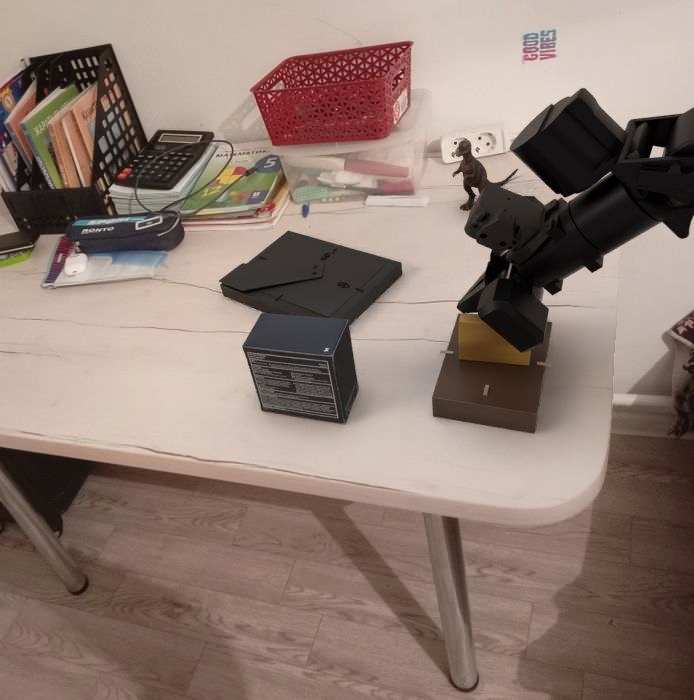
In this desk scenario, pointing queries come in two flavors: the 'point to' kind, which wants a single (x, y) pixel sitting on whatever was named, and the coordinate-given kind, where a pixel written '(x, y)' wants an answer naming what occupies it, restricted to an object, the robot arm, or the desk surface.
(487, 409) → the plate
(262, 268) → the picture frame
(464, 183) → the dinosaur model
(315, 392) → the small box
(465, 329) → the yellow rectangular slab
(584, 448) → the desk surface
